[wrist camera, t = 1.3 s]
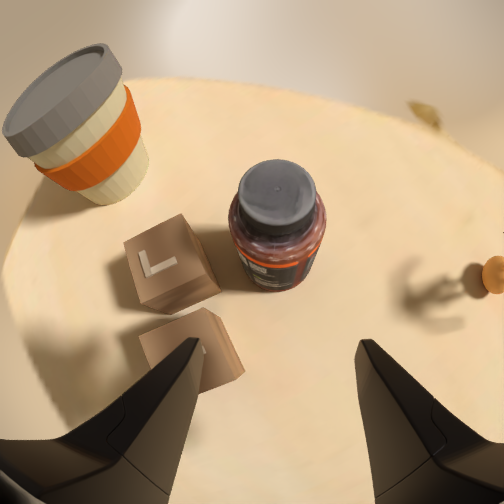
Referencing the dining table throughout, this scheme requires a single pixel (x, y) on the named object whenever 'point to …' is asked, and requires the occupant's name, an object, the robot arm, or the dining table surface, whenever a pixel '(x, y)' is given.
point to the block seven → (170, 267)
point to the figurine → (494, 275)
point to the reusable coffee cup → (81, 127)
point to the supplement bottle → (277, 224)
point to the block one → (213, 344)
